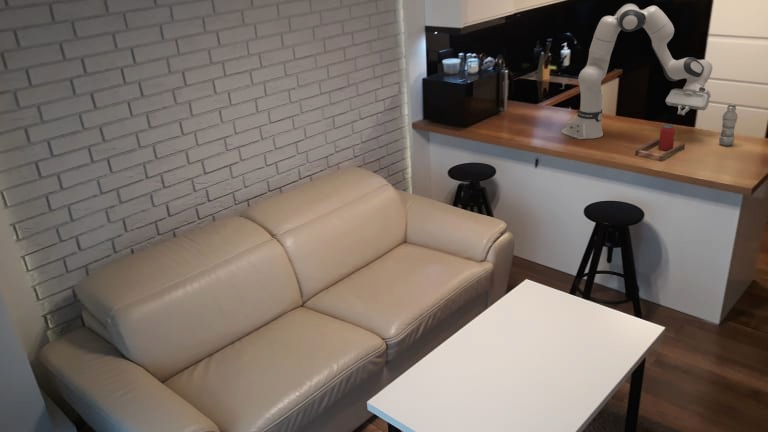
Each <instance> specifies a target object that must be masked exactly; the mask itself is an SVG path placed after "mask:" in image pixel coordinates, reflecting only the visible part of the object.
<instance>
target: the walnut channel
mask: <svg viewBox="0 0 768 432" xmlns="http://www.w3.org/2000/svg"><path fill="white" fill-rule="evenodd" d="M659 140H660V138H656V139H654V140H653V141H651V142H649V143H647V144H645V145H643V146H641V147H640V148H638V149H636V150H635V156H637V157H642V158H646V159H650V160H655V161H659V162H664V161H666V160H667V159H669V158H670V157H672V156H674V155H676V154H678V153H679V152H681V151H683V150H684V149H685V145H686V144H685V143H680V144H677V145H676V146H675V147H673V149H671V150H667V151H666V152H664V153H663V154H659V153H656V152H655V153H654V152H650V150H652V149H653V148H655V147H657V146H659Z"/></svg>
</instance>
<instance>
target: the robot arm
mask: <svg viewBox="0 0 768 432" xmlns="http://www.w3.org/2000/svg"><path fill="white" fill-rule="evenodd" d="M639 7H640V6H638V5H637V4H636V3H631V2H629V3H624V4H623V5H622V6H621V7H620V8H619V9H618V10H617V11H616V12H615V13H613V16H612V15H605V16H603V17H602V18H601V19H599V20H600V21H599V22H598V24H597V26H596V29H595V31H594V33H593V38H592V41H591V44H590V47H589V49H588V51H589V52H588V58H587V62H586V65H585V66H584V68H583V69H582V70H580V72H579V74H578V78H577V81H578V84H579V91H580V106H579V107H580V108H579V109H577V110H576V111H575V114H576V115H575V116H574V117H572V118H571V119H569V120H568V121H567V122H566V125H565V128H563V129H562V130H561V134H564V135H566V136H569V137H572V138H575V139H578V140H586V139H597V138H601V137H603V135H604V133H603V126H602V119H603V109H602V108H603V107H602V106H603V93H602V81H603V80H604V78H606V75H607V72H608V68H609V64H610V60H611V56H612V52H613V50H614V48H615V44H616V41H617V37H618V35H619V33H620V31H621V30H622V31H623V32H628V33H631V32H634V31H636V30H639V29H642V28H643V29H644V30H645V31H646V34H648V36H649V38H650V40H651V48H652V50H653V51H654V53H655V56H656V58H657V59H658V61H659V63H660V65H661V67H662V70H663V74H664V77H665V78H666V79H667V80H668V81H671V82H677V81H680V80H682V79H686V83H685V85H684V86H683V88H677V87H676V88H673V89H671V90H670V92H669V94H668V95H667V96H666V99H665V103H666V105H667V106H673V107H678V109H677V110H678V111H677V115H681V116H685V114H686V113H687V112H689V110H691V109H692V110H696V111H697V110H698V111H705V110H707V109H708V107H709V104H710V98H712V96H711V93H710V91H709V89H708V88H706V87H705V85H706V84H707V83H708V81H709V79H710V77H711V75H712V73H713V65H712V63H711V62H710V61H709V60H707V59H697V58H696V57H692V56H691V57H684V58H681V59H678V60H677V59H674V58H673V57H672V55H671V52H670V51H669V49H668V46H667V45H668V43H669V42H670V41H671V39H672V38H673V37H674V33H675V28H674V25H673V23H672V21H671V20H670V18H668V16H667V15H666V13H664V11H663V10H662V9H660V8H659V7H658V6H657V5H650V6H648V7H646V8H644V9H640V8H639ZM683 108H684V109H683Z"/></svg>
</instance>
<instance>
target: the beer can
mask: <svg viewBox="0 0 768 432" xmlns="http://www.w3.org/2000/svg"><path fill="white" fill-rule="evenodd" d="M675 132H676V129H675V125H673V124H670V123H669V124H666V123H665V124H663V125H661V128H660V133H659V134H660V135H659V139H660V140H659V145H658V149H659V150H661V151H666V152H667V151H669V150H671V149H673V148H674V143H675V136H676V135H675V134H676V133H675Z"/></svg>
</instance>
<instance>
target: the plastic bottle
mask: <svg viewBox="0 0 768 432" xmlns="http://www.w3.org/2000/svg"><path fill="white" fill-rule="evenodd" d="M736 110H737V105H735V104H729V105H727V108H726V111H724V113H723V115H722V128H721V131H720V135H719V137H718V143H719V144H720V145H721V146H732V145H733V144H734V142H735V127H736V125H737V120H738V113H737V112H736Z"/></svg>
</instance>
